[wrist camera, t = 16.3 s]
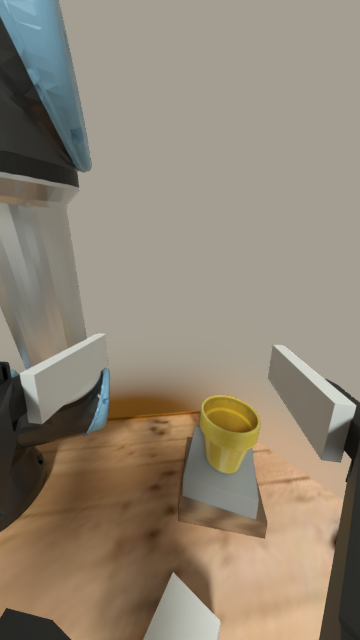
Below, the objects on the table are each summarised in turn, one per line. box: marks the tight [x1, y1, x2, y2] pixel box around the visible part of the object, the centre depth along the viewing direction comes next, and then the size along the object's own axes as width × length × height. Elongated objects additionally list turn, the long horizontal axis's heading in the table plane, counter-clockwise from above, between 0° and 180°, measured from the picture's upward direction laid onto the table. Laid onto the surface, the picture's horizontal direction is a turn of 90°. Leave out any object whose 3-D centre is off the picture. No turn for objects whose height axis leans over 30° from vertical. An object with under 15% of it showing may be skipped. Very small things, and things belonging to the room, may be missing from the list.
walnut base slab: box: [178, 437, 267, 539], centre depth 37 cm, size 14×14×4 cm
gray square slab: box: [183, 425, 259, 519], centre depth 36 cm, size 12×12×4 cm
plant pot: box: [200, 395, 260, 474], centre depth 34 cm, size 10×10×10 cm
